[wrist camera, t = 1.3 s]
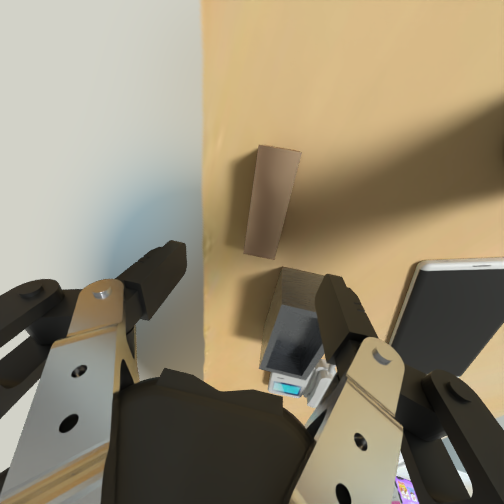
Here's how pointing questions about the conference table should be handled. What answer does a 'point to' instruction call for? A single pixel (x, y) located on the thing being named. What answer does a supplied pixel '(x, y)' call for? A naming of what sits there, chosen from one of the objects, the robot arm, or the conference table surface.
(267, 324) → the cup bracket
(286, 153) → the brown rectangular block
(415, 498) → the candy box
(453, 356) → the smartphone
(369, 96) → the conference table surface
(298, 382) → the intercom
